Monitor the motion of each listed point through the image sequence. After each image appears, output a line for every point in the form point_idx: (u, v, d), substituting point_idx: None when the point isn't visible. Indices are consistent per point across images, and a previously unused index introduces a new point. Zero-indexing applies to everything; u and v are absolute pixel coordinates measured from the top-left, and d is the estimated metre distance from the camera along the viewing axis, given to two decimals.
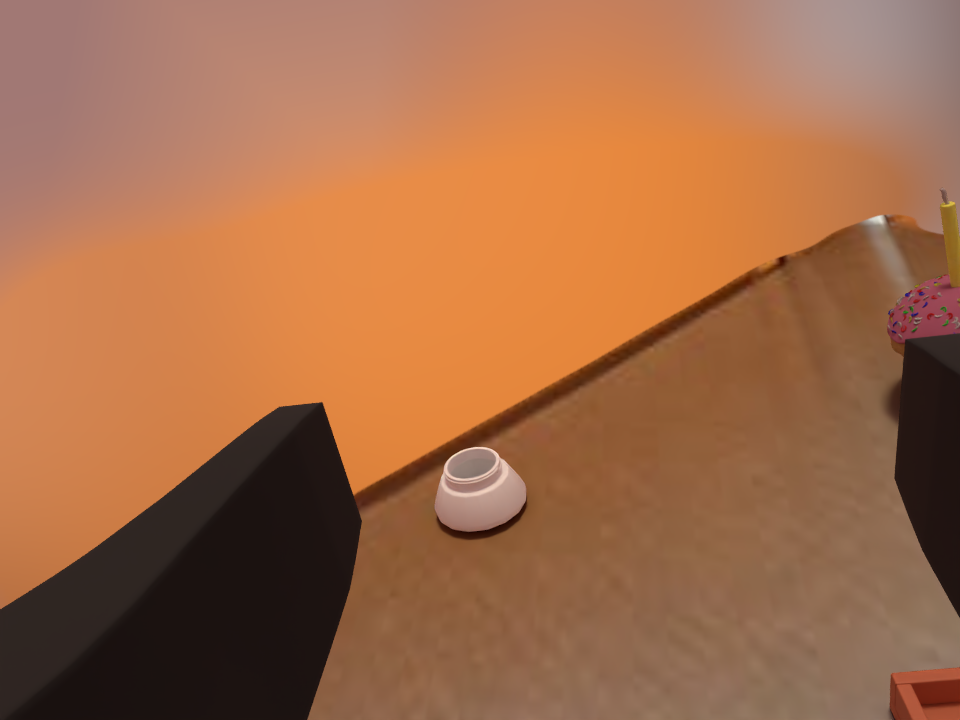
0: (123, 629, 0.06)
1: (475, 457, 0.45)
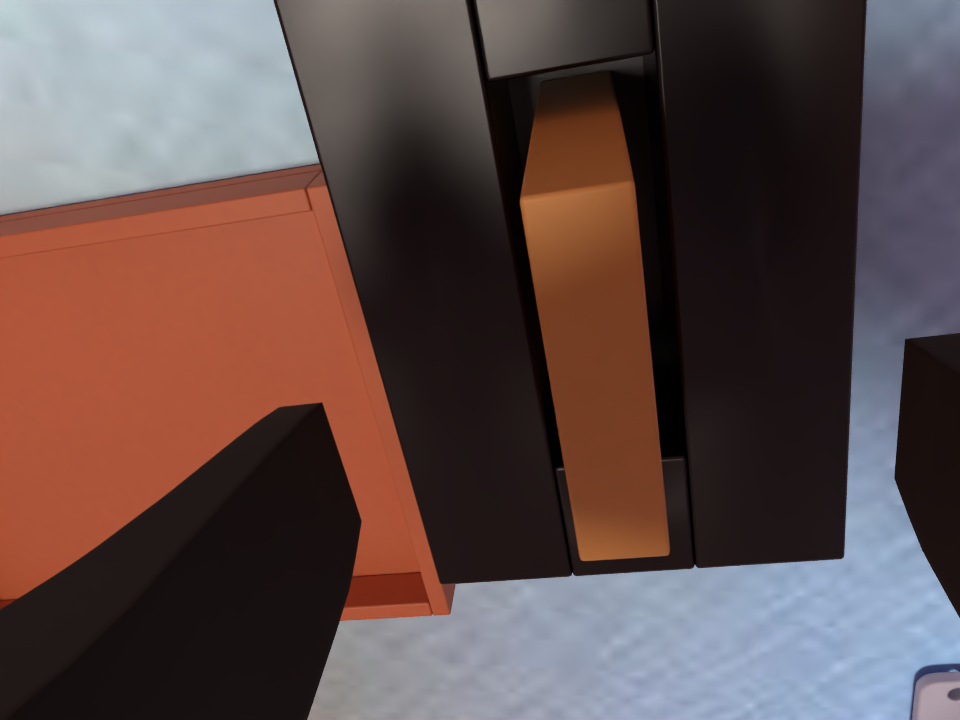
0: (121, 628, 0.06)
1: None
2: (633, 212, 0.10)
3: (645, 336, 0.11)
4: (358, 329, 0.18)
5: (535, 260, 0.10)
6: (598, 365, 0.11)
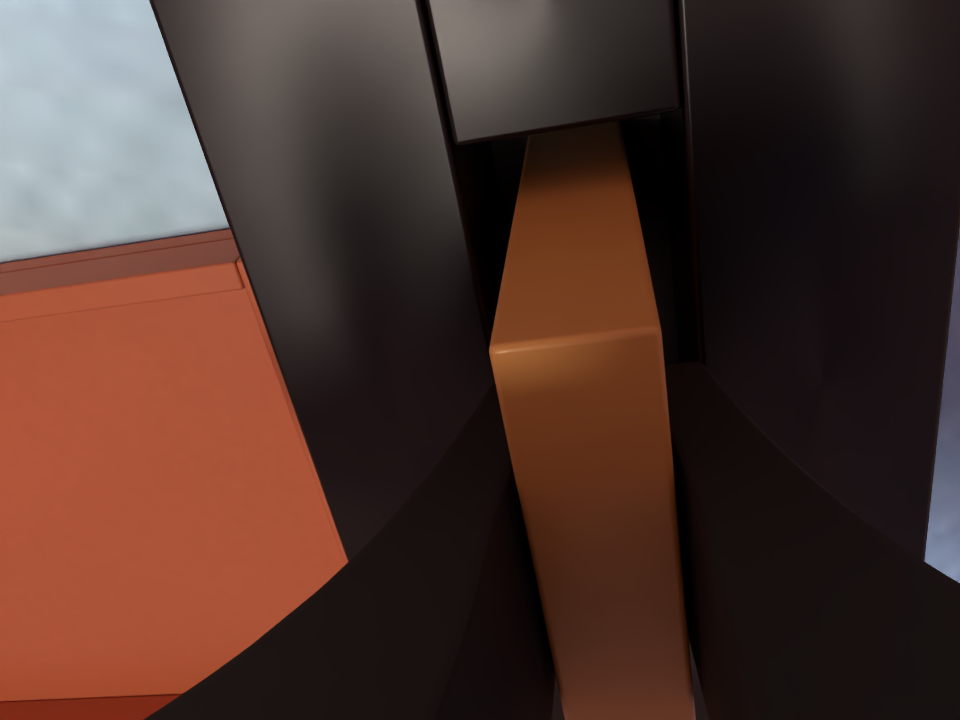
0: (477, 608, 0.06)
1: None
2: (659, 370, 0.07)
3: (673, 532, 0.07)
4: None
5: (513, 432, 0.07)
6: (605, 566, 0.08)
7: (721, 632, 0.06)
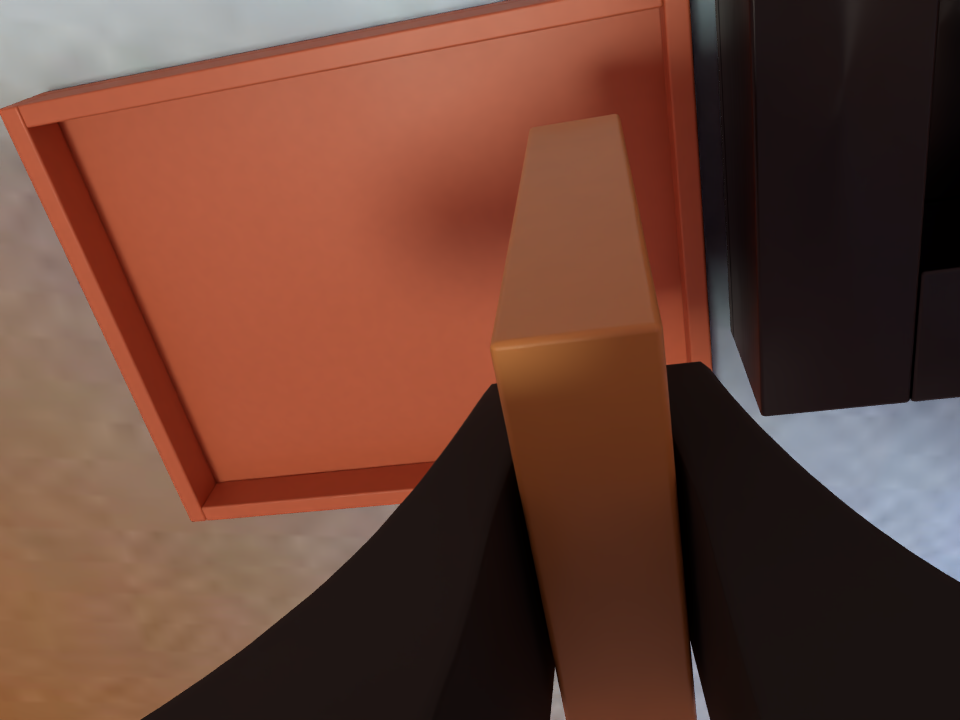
0: (474, 608, 0.06)
1: None
2: (660, 368, 0.07)
3: (674, 530, 0.07)
4: (686, 145, 0.17)
5: (514, 429, 0.07)
6: (606, 564, 0.08)
7: (722, 632, 0.06)
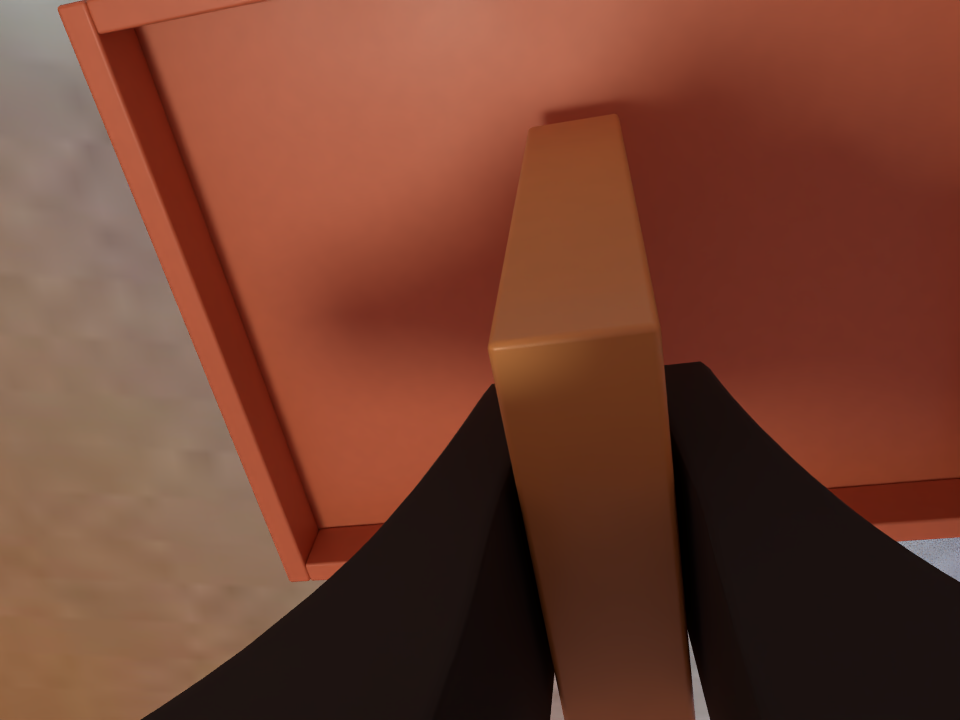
0: (474, 608, 0.06)
1: None
2: (658, 367, 0.07)
3: (672, 530, 0.07)
4: None
5: (512, 429, 0.07)
6: (603, 565, 0.08)
7: (722, 632, 0.06)
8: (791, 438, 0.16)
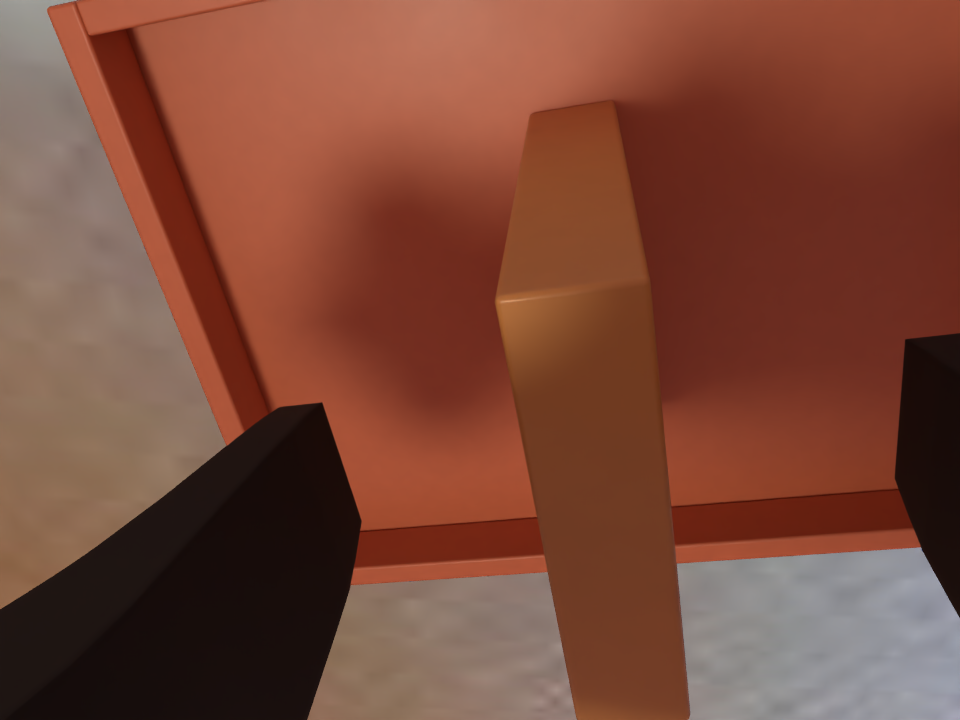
0: (123, 628, 0.06)
1: None
2: (648, 318, 0.07)
3: (662, 470, 0.08)
4: None
5: (516, 376, 0.08)
6: (600, 504, 0.08)
7: None
8: (792, 444, 0.16)
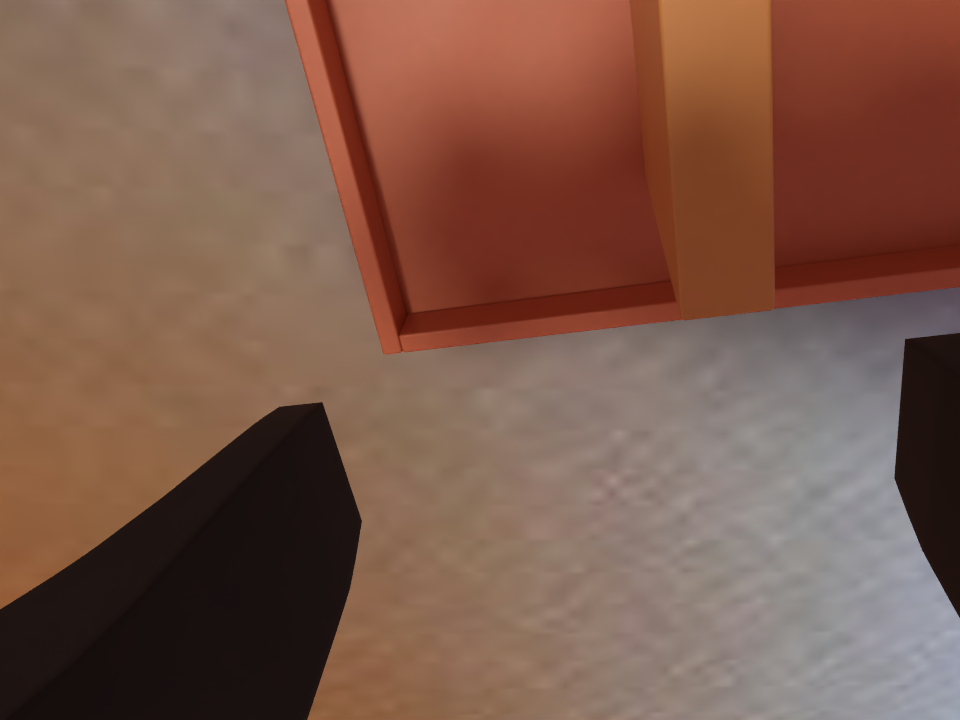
0: (123, 628, 0.06)
1: None
2: None
3: (768, 41, 0.10)
4: None
5: None
6: (716, 80, 0.11)
7: None
8: (836, 205, 0.18)
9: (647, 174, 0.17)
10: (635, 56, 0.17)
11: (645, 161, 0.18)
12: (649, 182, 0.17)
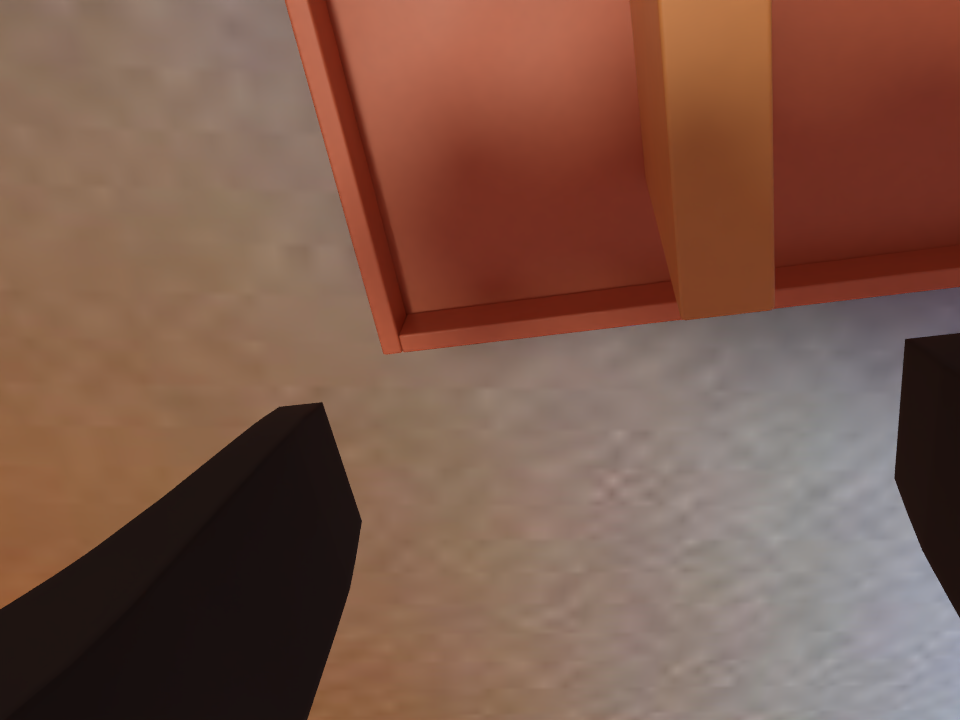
0: (123, 628, 0.06)
1: None
2: None
3: (768, 41, 0.10)
4: None
5: None
6: (716, 80, 0.11)
7: None
8: (836, 205, 0.18)
9: (647, 174, 0.17)
10: (635, 56, 0.17)
11: (645, 161, 0.18)
12: (649, 182, 0.17)
